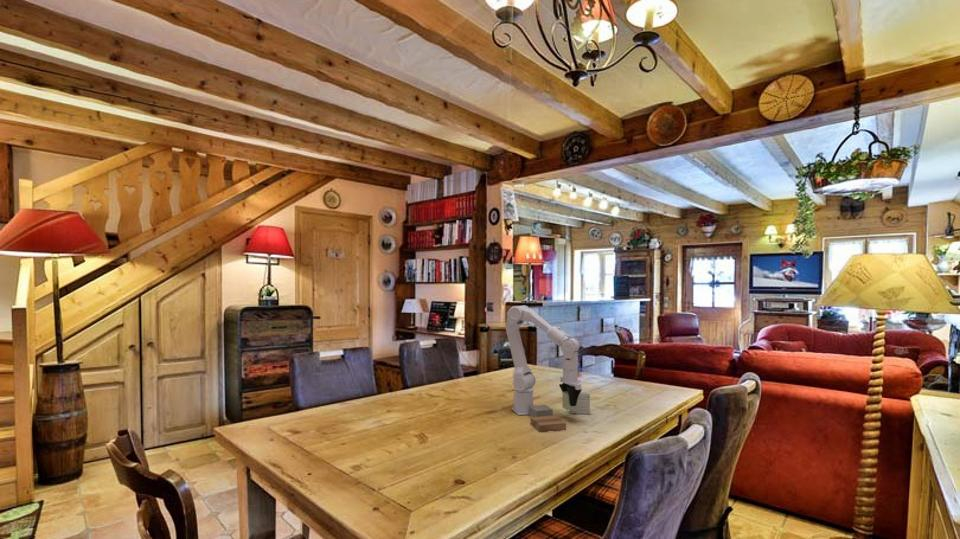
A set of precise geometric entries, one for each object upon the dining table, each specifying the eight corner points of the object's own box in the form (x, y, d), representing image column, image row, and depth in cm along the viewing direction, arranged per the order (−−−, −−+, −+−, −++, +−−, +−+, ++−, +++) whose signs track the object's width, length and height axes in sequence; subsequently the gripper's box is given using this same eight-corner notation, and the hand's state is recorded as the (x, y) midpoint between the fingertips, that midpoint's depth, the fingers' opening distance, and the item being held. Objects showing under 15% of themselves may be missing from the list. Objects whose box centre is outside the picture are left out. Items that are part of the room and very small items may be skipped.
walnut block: (530, 425, 166) (530, 417, 167) (555, 423, 169) (555, 415, 169) (540, 433, 157) (540, 425, 157) (566, 431, 159) (566, 423, 159)
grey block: (528, 416, 177) (528, 406, 177) (544, 414, 179) (544, 404, 180) (536, 421, 170) (536, 411, 171) (552, 419, 173) (552, 409, 173)
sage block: (562, 406, 173) (562, 391, 174) (572, 406, 175) (573, 391, 175) (567, 410, 169) (567, 394, 169) (578, 409, 170) (578, 393, 170)
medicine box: (588, 411, 183) (588, 390, 183) (590, 414, 179) (590, 393, 179) (569, 411, 184) (569, 390, 184) (570, 414, 179) (570, 392, 180)
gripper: (588, 372, 166) (588, 408, 166) (571, 365, 180) (571, 398, 180) (571, 373, 165) (571, 409, 164) (555, 366, 179) (555, 399, 178)
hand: (570, 404), depth 172 cm, fingers closed on sage block, 4 cm apart
